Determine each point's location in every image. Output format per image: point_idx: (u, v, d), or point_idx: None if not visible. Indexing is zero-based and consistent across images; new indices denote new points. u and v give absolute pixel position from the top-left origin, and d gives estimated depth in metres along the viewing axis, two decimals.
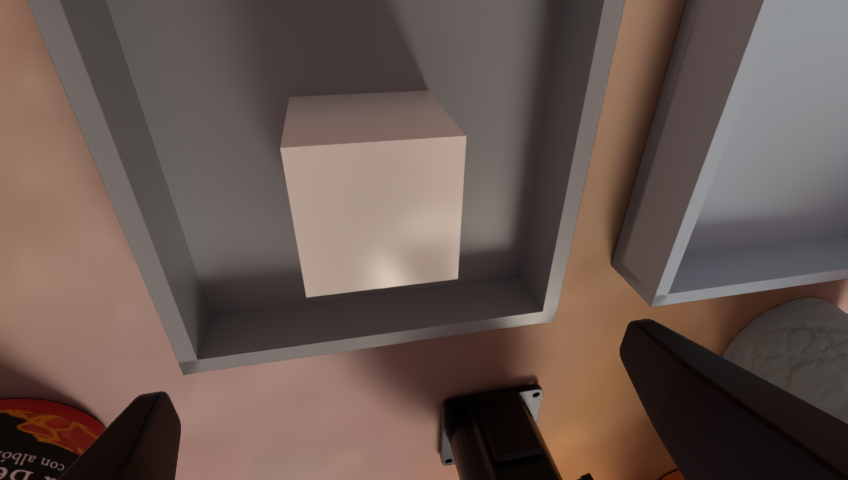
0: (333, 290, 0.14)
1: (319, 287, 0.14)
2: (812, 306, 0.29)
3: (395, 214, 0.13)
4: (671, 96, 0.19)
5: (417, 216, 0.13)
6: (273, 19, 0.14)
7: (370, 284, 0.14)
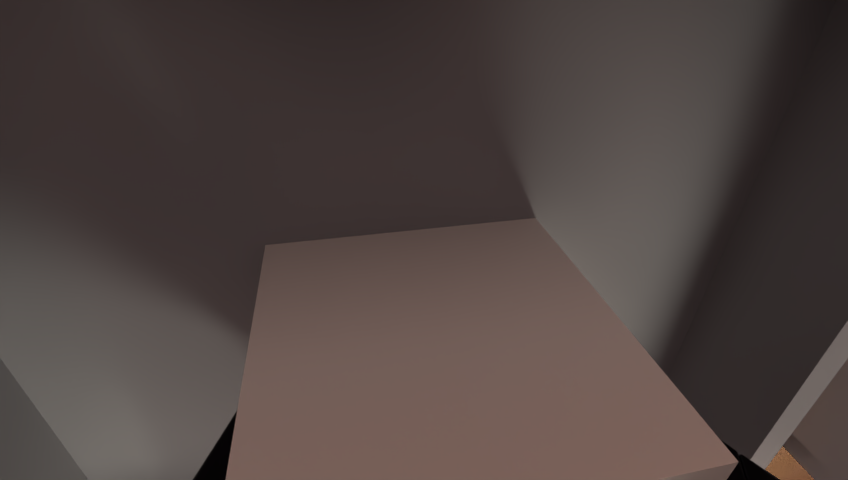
0: None
1: None
2: None
3: None
4: None
5: None
6: (225, 102, 0.06)
7: None
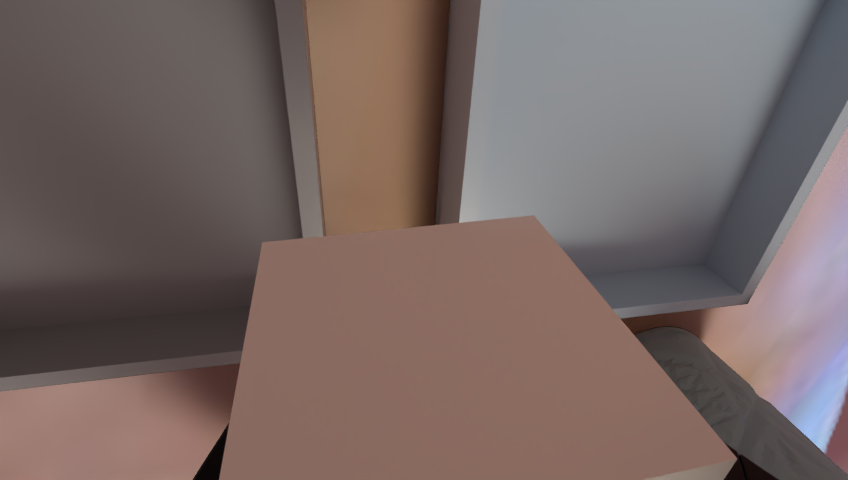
0: None
1: None
2: (666, 337, 0.27)
3: None
4: (447, 114, 0.17)
5: None
6: None
7: None
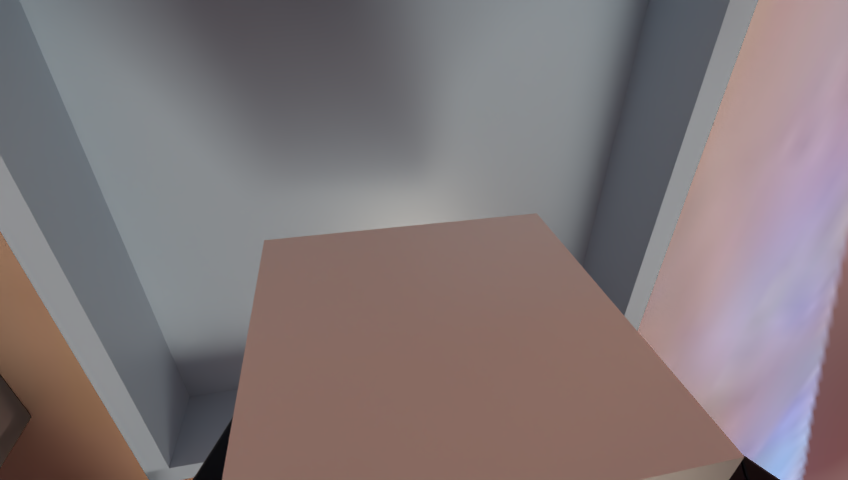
0: None
1: None
2: None
3: None
4: None
5: None
6: None
7: None
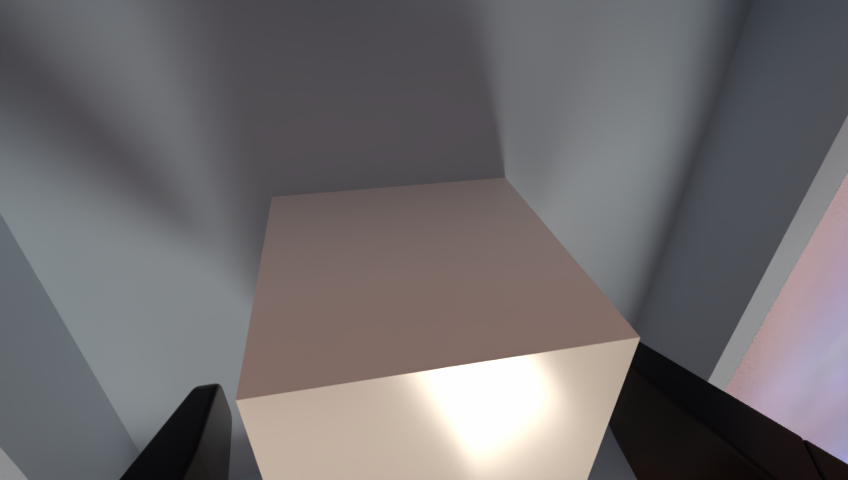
0: None
1: None
2: None
3: (475, 466, 0.07)
4: None
5: (517, 462, 0.07)
6: None
7: None
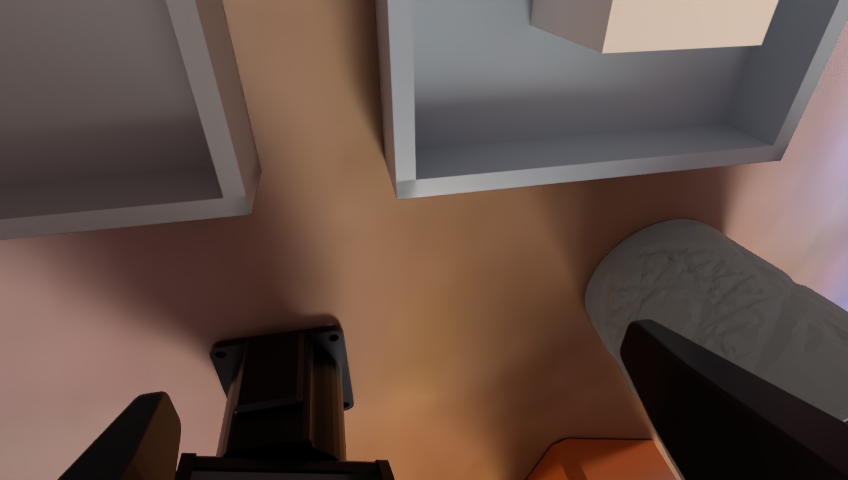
0: (632, 46, 0.12)
1: (620, 39, 0.12)
2: (680, 227, 0.23)
3: None
4: None
5: None
6: None
7: (672, 41, 0.12)
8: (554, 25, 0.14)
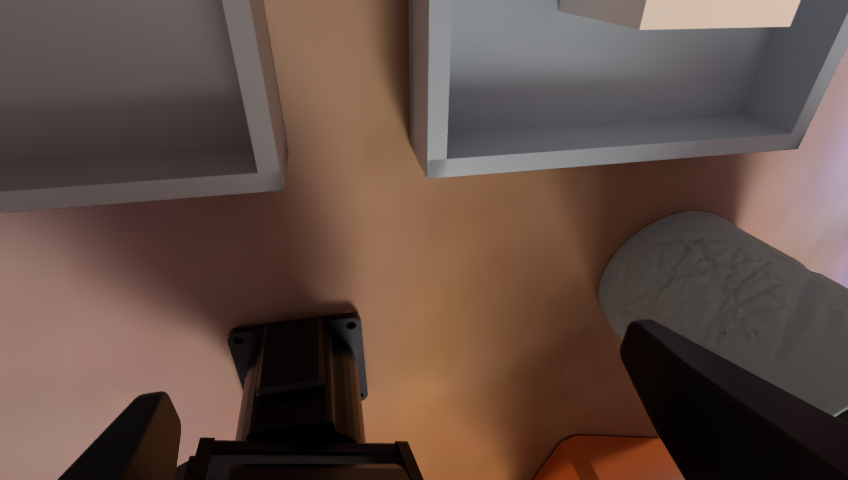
0: (668, 23, 0.12)
1: (657, 16, 0.12)
2: (695, 218, 0.23)
3: None
4: None
5: None
6: None
7: (706, 20, 0.13)
8: (585, 8, 0.15)
